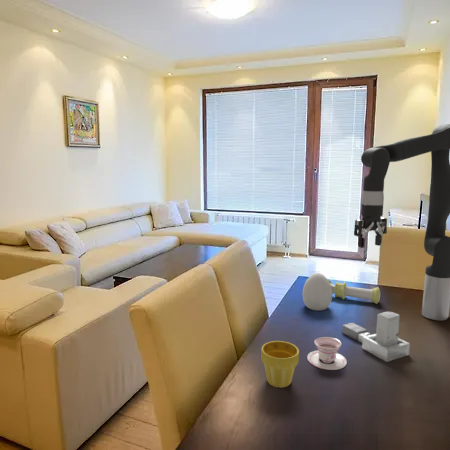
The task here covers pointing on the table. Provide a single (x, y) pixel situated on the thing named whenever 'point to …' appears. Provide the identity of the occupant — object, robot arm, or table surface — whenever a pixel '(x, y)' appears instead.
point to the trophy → (355, 292)
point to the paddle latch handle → (376, 343)
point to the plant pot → (279, 362)
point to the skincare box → (387, 328)
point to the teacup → (327, 354)
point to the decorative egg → (317, 292)
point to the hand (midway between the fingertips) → (369, 246)
